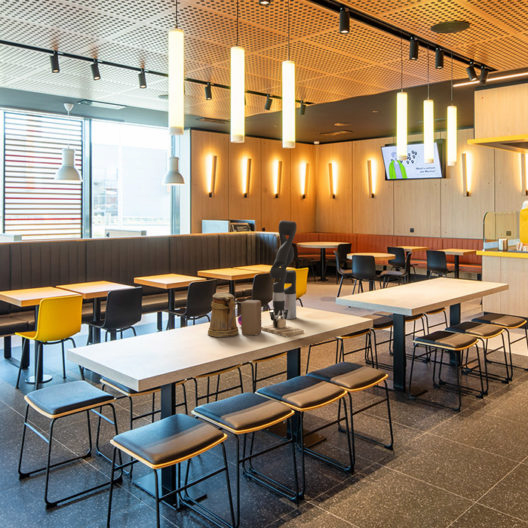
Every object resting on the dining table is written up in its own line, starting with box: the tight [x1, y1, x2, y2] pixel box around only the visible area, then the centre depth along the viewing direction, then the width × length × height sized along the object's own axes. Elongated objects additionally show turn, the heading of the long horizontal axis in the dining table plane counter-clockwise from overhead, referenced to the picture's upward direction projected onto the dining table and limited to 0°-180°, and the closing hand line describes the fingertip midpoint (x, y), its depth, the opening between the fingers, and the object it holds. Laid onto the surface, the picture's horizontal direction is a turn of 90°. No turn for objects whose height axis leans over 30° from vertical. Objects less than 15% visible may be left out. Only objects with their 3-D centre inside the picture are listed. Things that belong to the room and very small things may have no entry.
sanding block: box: [272, 317, 287, 329], centre depth 334 cm, size 7×4×6 cm, turn 39°
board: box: [261, 324, 305, 337], centre depth 332 cm, size 24×14×2 cm, turn 39°
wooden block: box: [240, 299, 262, 336], centre depth 327 cm, size 10×10×20 cm
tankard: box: [207, 292, 239, 338], centre depth 324 cm, size 18×24×25 cm
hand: (279, 326), depth 334 cm, fingers closed on sanding block, 4 cm apart
